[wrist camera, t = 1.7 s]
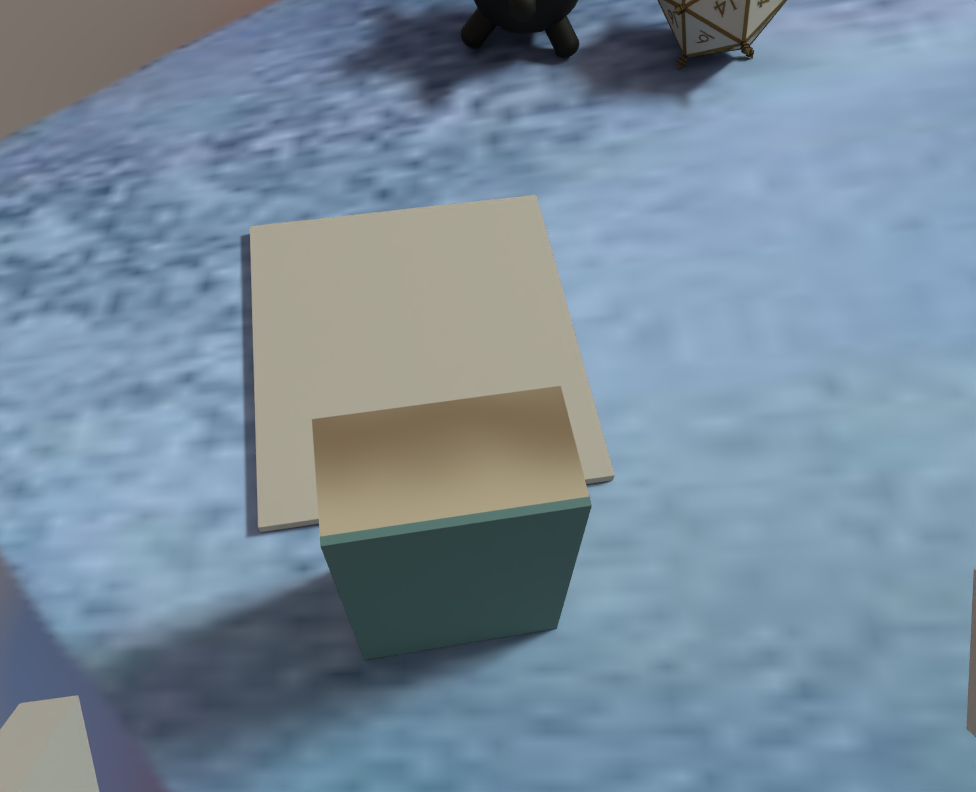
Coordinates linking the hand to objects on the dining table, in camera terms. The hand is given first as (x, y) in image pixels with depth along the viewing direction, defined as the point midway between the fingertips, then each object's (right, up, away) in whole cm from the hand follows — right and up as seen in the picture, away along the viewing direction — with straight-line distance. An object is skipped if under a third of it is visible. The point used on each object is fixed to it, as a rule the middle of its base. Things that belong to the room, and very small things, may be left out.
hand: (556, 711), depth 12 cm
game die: (+14, +27, +44) cm, 54 cm away
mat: (-5, +7, +31) cm, 32 cm away
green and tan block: (-2, -4, +24) cm, 24 cm away
